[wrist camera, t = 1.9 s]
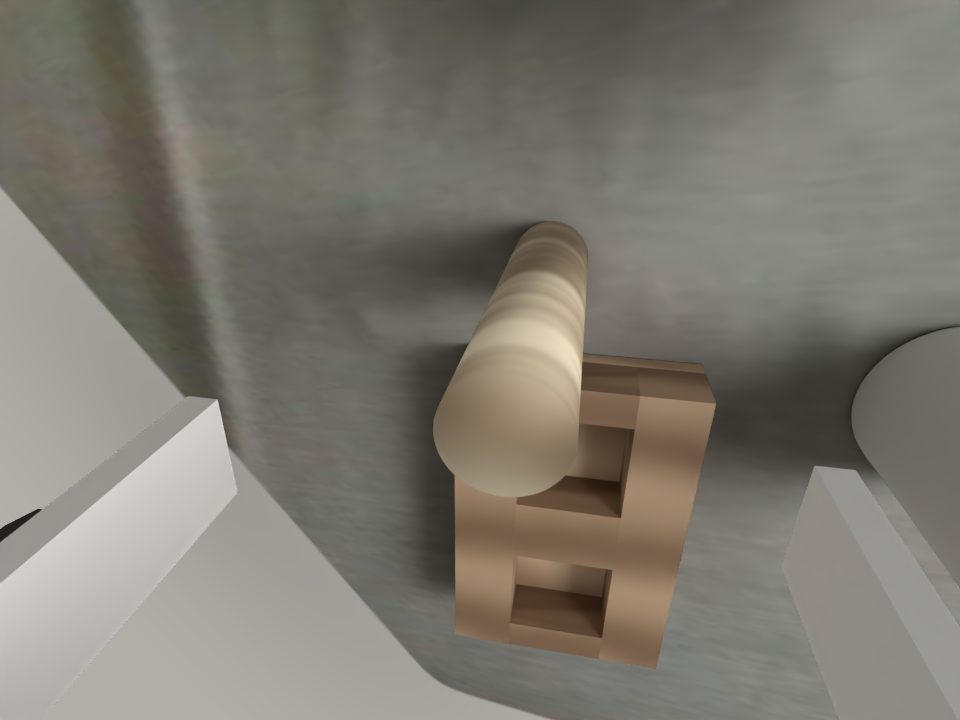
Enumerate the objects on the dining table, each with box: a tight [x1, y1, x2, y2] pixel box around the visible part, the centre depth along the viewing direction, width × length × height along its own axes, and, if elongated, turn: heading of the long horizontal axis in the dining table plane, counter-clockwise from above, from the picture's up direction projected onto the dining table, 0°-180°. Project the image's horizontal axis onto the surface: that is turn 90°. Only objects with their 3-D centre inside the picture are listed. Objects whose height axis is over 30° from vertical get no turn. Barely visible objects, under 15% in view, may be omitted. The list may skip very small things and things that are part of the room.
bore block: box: [455, 354, 716, 669], centre depth 32 cm, size 18×12×4 cm, turn 179°
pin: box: [433, 221, 588, 497], centre depth 21 cm, size 4×4×16 cm
